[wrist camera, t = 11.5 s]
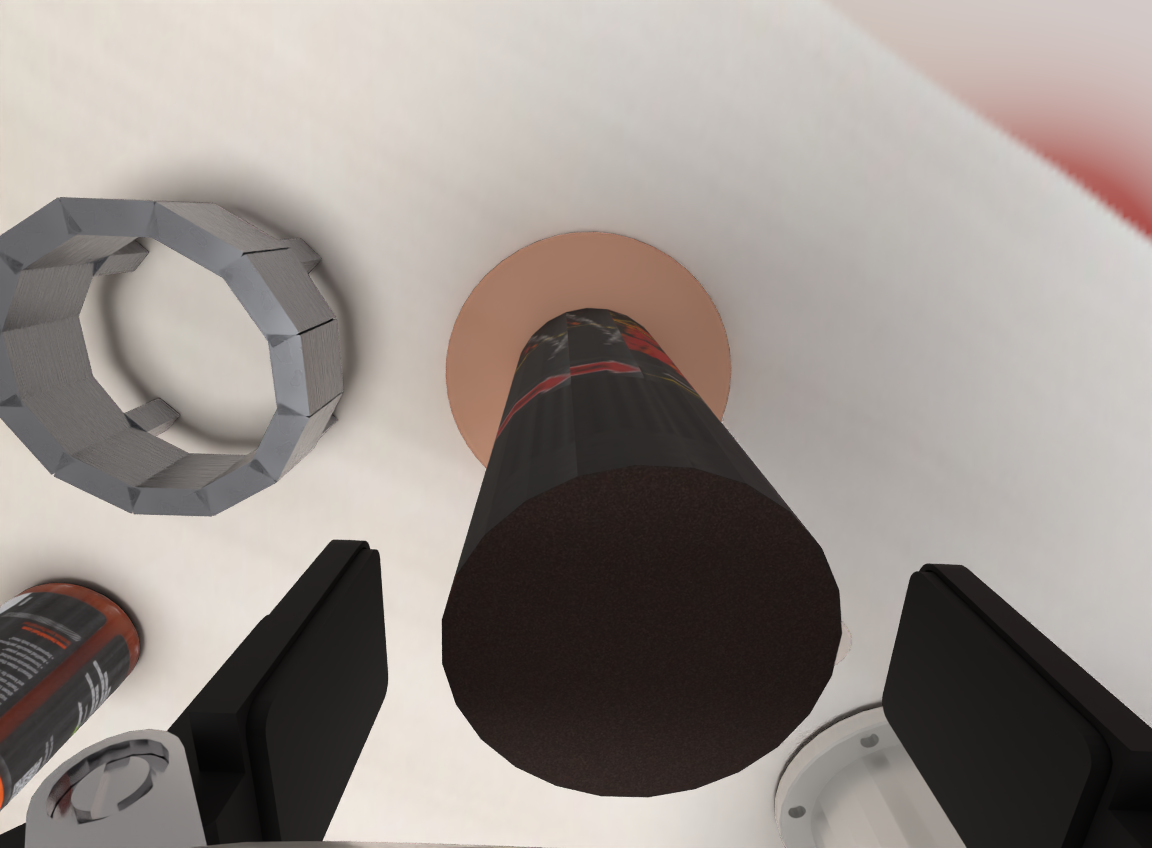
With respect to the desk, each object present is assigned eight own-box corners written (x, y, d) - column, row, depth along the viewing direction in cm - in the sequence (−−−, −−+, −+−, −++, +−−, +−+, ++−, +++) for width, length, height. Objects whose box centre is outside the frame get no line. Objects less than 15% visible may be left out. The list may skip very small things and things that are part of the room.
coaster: (742, 237, 22) (748, 238, 21) (709, 504, 26) (714, 513, 25) (444, 226, 22) (440, 226, 21) (454, 496, 26) (450, 505, 25)
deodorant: (491, 338, 22) (372, 543, 8) (642, 285, 22) (796, 404, 8) (544, 475, 24) (524, 835, 10) (685, 429, 24) (874, 739, 10)
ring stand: (347, 207, 22) (285, 205, 17) (369, 461, 25) (321, 519, 20) (67, 197, 21) (-75, 192, 17) (126, 454, 25) (21, 510, 20)
